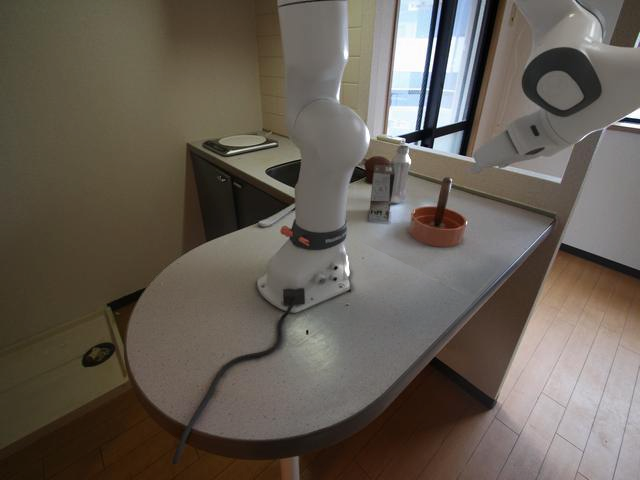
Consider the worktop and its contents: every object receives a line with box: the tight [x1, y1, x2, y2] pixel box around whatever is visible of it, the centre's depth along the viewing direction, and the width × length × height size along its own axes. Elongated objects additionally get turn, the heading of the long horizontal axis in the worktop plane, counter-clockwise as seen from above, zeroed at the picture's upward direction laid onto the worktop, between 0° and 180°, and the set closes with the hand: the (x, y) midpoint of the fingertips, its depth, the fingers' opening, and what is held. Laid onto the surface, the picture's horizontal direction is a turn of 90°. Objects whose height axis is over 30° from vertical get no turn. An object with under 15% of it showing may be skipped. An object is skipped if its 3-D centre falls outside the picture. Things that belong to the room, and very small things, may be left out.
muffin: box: [363, 155, 392, 184], centre depth 132 cm, size 12×11×10 cm
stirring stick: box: [429, 176, 453, 229], centre depth 89 cm, size 4×4×17 cm
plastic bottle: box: [390, 144, 412, 205], centre depth 110 cm, size 6×7×20 cm
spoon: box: [258, 202, 295, 228], centre depth 109 cm, size 35×8×3 cm, turn 144°
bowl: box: [408, 205, 468, 248], centre depth 93 cm, size 15×15×6 cm
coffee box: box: [368, 165, 395, 223], centre depth 100 cm, size 9×6×16 cm
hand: (486, 167), depth 72 cm, fingers open, 8 cm apart
